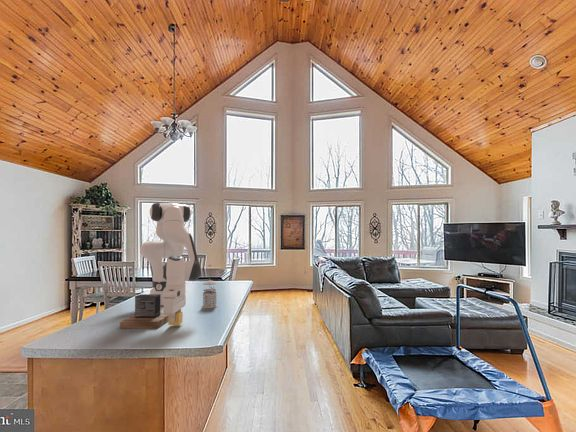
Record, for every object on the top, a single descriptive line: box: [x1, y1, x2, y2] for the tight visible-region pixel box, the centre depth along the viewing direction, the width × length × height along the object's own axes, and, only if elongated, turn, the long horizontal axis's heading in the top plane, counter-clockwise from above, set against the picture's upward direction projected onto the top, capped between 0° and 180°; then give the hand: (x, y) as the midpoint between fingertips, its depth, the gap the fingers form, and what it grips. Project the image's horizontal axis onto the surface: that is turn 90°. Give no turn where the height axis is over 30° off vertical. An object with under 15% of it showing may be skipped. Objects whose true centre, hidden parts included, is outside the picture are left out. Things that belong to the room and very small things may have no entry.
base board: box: [119, 312, 168, 329], centre depth 172 cm, size 18×18×3 cm
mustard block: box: [167, 311, 184, 326], centre depth 166 cm, size 5×5×5 cm
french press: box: [201, 263, 219, 309], centre depth 209 cm, size 10×12×25 cm
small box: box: [134, 293, 161, 318], centre depth 173 cm, size 11×6×10 cm, turn 87°
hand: (175, 320), depth 166 cm, fingers closed on mustard block, 5 cm apart
